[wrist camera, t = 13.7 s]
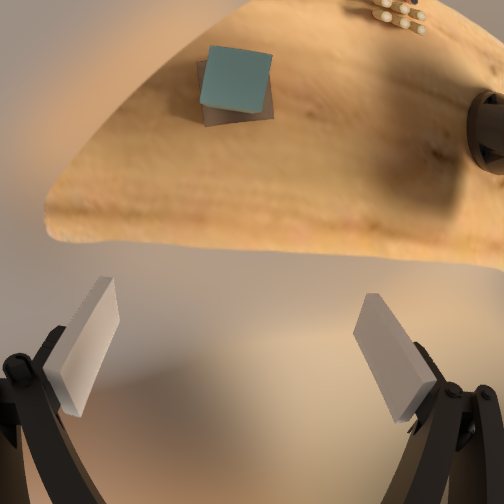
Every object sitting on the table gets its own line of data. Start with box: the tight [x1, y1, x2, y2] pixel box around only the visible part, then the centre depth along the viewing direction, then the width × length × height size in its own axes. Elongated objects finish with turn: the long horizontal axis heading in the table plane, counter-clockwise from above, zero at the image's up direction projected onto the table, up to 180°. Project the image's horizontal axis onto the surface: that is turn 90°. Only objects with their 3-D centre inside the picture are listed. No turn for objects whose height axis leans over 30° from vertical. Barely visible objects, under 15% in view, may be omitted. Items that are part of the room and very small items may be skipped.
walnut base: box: [197, 61, 274, 127], centre depth 34 cm, size 8×8×5 cm
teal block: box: [199, 46, 273, 114], centre depth 26 cm, size 5×5×11 cm
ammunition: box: [372, 0, 427, 35], centre depth 29 cm, size 5×7×8 cm
